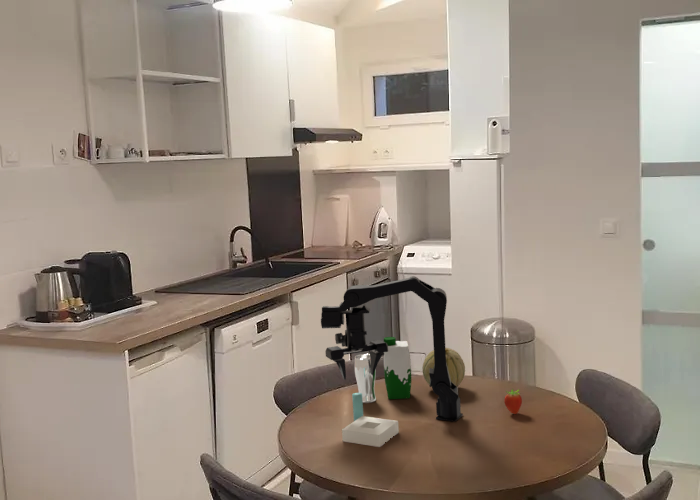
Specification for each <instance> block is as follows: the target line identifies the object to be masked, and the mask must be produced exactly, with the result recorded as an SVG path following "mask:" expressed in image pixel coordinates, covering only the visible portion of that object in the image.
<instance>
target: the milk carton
mask: <svg viewBox="0 0 700 500" xmlns="http://www.w3.org/2000/svg"><path fill="white" fill-rule="evenodd" d="M383 342H385V343H387V345H388V352H383V353H384V355H383V373H384V374H383V375H384V385H385V390H386V393H387V399H388V400H398V399H399V400H401V399H402V400H403V399H410V398H411V390H412V389H411V388H412V365H411V363H412V360H411V352H410V348H409V344H408V343H409V342H408V341H407V340H396V337H395V336H386V337H383Z"/></svg>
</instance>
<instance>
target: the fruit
mask: <svg viewBox="0 0 700 500" xmlns="http://www.w3.org/2000/svg"><path fill="white" fill-rule="evenodd" d="M510 391H511V392H510ZM510 391H507V390H505V392H506V393H507V394H506V395H505V397H504V401H503V402H504V405H505V407H506V409H507V410H508V411H509V412H510V413H511V414H514V415H516V414H517V415H518V413H519V412H520V409H521V406H522V404H523V398H522V396H521V395H520V394H521V393H519V391H520V389H517V390H514V389H511V390H510Z"/></svg>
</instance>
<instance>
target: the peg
mask: <svg viewBox="0 0 700 500" xmlns="http://www.w3.org/2000/svg"><path fill="white" fill-rule="evenodd" d="M351 396H352V397H351V398H352V414H353V422H354V421H355V420H357V419H358V418H360V417H361V416H364V403H363V401H362V393H359V392H355V393H354V392H353V393H352V394H351Z"/></svg>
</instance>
